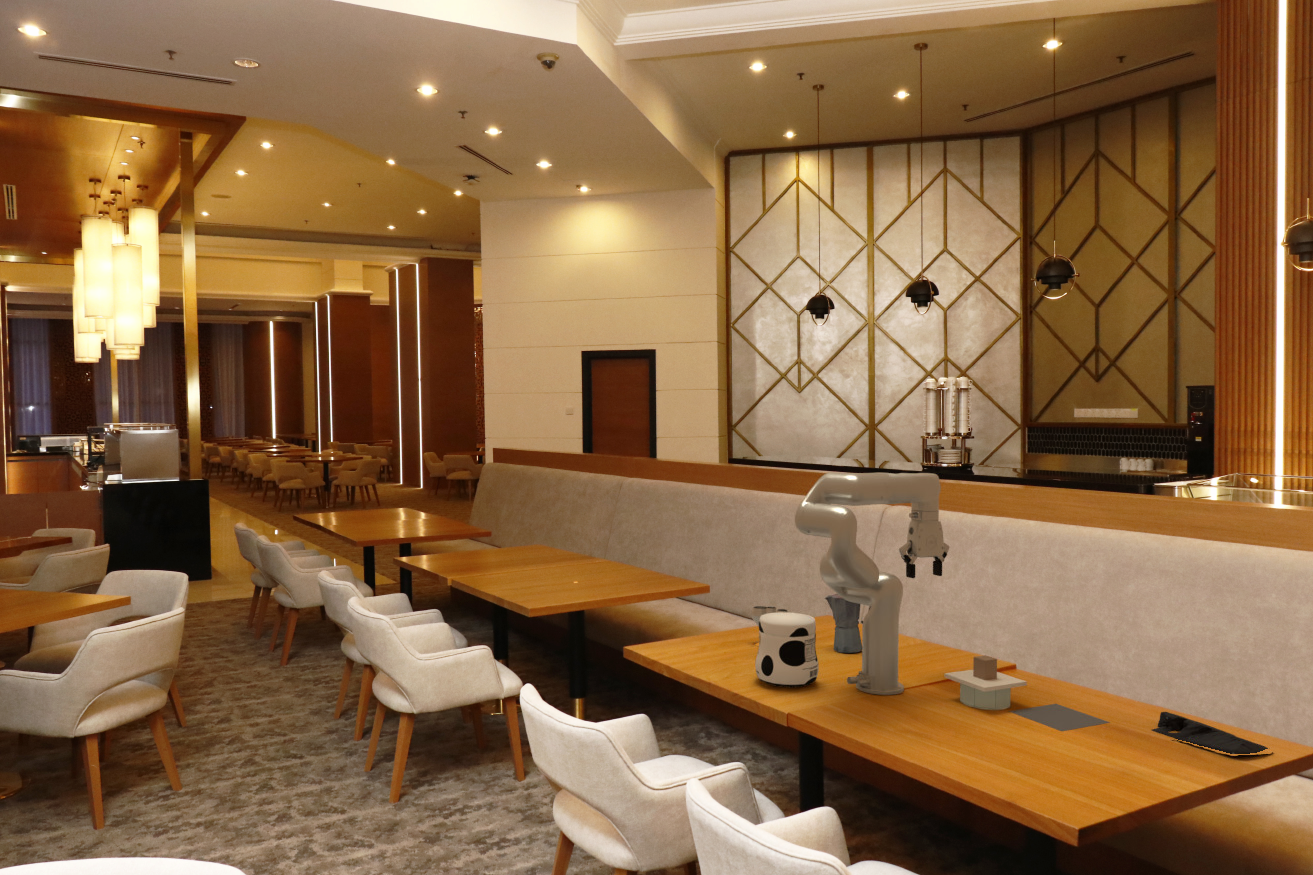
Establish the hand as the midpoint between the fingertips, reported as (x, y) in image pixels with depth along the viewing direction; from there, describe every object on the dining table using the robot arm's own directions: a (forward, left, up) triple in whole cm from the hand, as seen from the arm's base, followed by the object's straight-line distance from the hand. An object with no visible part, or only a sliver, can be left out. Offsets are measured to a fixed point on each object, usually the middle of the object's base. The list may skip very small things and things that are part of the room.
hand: (924, 576), depth 262 cm
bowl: (-4, -28, -28) cm, 40 cm away
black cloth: (+23, -69, -29) cm, 79 cm away
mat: (+4, -44, -28) cm, 52 cm away
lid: (-4, -28, -22) cm, 36 cm away
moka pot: (-2, +32, -28) cm, 43 cm away
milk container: (-40, +9, -29) cm, 50 cm away
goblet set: (-23, +39, -29) cm, 53 cm away
